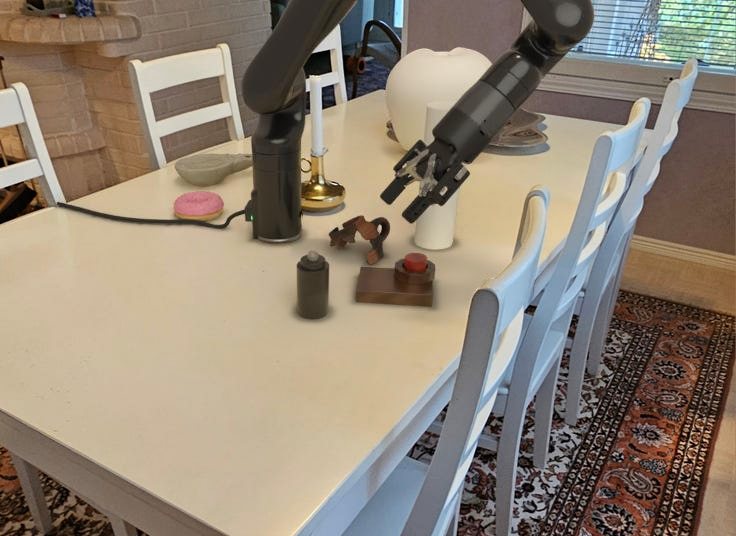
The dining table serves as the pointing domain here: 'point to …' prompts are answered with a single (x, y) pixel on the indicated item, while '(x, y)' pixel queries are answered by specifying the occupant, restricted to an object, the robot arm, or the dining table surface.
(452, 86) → the vase
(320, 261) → the pepper mill
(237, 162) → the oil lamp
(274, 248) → the dining table surface
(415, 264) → the button
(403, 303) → the button box
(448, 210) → the cylindrical container
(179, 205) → the doughnut
